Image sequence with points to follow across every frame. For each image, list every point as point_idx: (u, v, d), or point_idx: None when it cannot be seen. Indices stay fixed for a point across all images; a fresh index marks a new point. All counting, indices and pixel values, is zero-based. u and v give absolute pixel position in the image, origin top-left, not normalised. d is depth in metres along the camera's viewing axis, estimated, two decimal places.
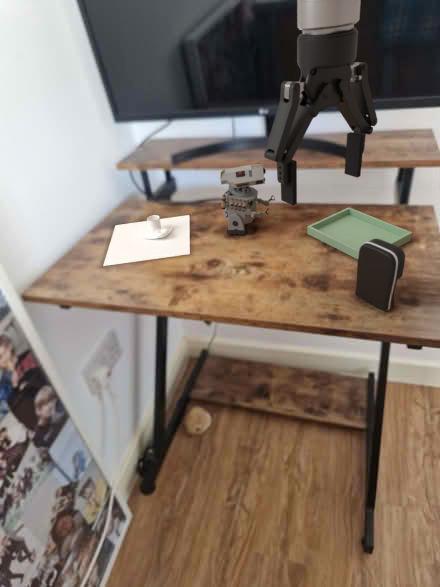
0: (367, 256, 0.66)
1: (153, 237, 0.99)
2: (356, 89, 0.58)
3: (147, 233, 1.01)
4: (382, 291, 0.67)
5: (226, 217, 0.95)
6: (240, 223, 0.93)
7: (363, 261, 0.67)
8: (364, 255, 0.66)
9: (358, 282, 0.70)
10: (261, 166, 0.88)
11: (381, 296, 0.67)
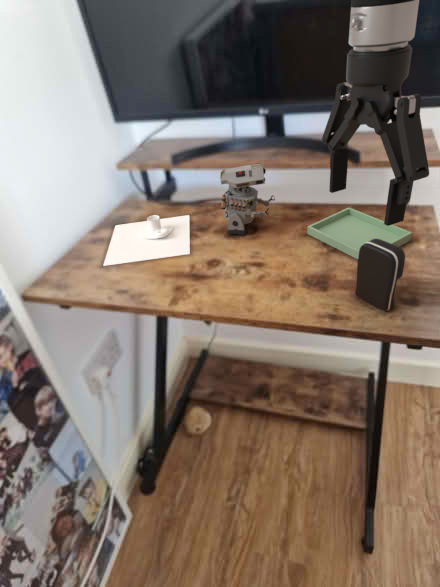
0: (367, 256, 0.66)
1: (153, 237, 0.99)
2: (344, 108, 0.59)
3: (147, 233, 1.01)
4: (382, 291, 0.67)
5: (226, 217, 0.95)
6: (240, 223, 0.93)
7: (363, 261, 0.67)
8: (364, 255, 0.66)
9: (358, 282, 0.70)
10: (261, 166, 0.88)
11: (381, 296, 0.67)
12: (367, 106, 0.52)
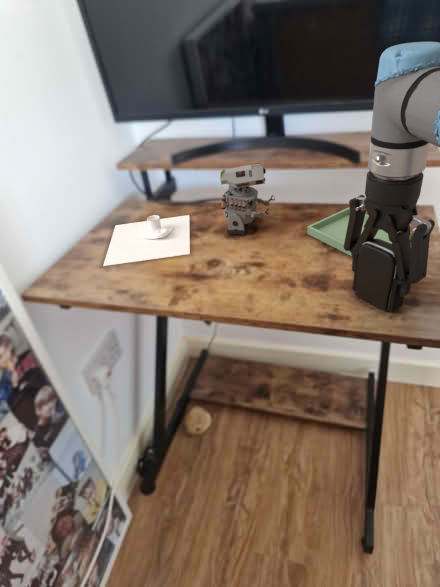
0: (367, 256, 0.66)
1: (153, 237, 0.99)
2: (359, 217, 0.66)
3: (147, 233, 1.01)
4: (382, 291, 0.67)
5: (226, 217, 0.95)
6: (240, 223, 0.93)
7: (363, 261, 0.67)
8: (364, 255, 0.66)
9: (358, 282, 0.70)
10: (261, 166, 0.88)
11: (381, 296, 0.67)
12: (387, 219, 0.59)
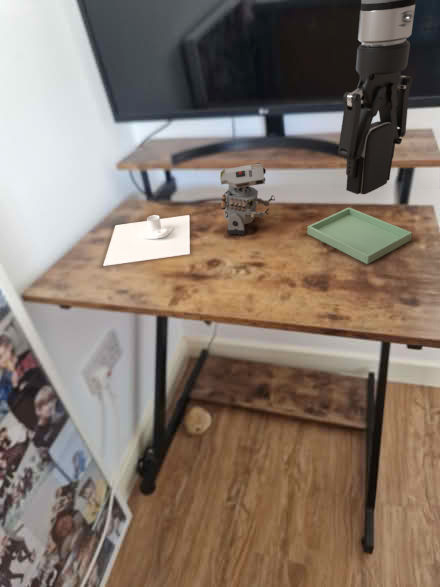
0: (376, 141, 0.68)
1: (153, 237, 0.99)
2: None
3: (147, 233, 1.01)
4: (386, 165, 0.72)
5: (226, 217, 0.95)
6: (240, 223, 0.93)
7: (373, 150, 0.68)
8: (374, 142, 0.68)
9: (368, 177, 0.71)
10: (261, 166, 0.88)
11: (386, 170, 0.73)
12: (394, 87, 0.64)
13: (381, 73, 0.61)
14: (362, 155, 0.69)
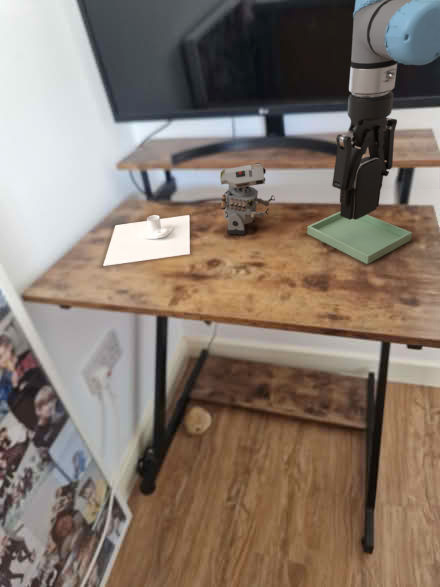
0: (366, 174, 0.77)
1: (153, 237, 0.99)
2: None
3: (147, 233, 1.01)
4: (375, 194, 0.82)
5: (226, 217, 0.95)
6: (240, 223, 0.93)
7: (363, 182, 0.78)
8: (364, 176, 0.77)
9: (359, 205, 0.81)
10: (261, 166, 0.88)
11: (375, 198, 0.83)
12: (380, 129, 0.74)
13: (369, 119, 0.70)
14: (353, 186, 0.79)
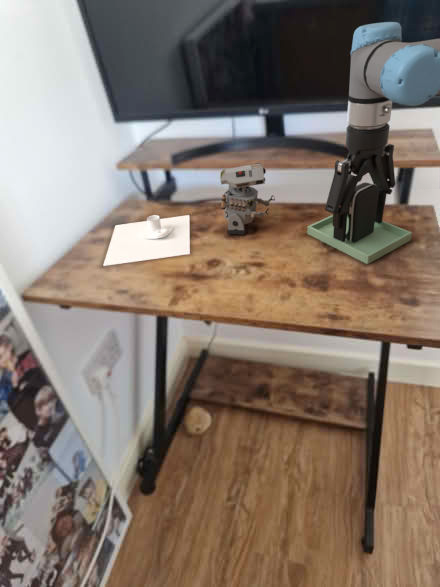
0: (363, 200, 0.81)
1: (153, 237, 0.99)
2: None
3: (147, 233, 1.01)
4: (372, 217, 0.85)
5: (226, 217, 0.95)
6: (240, 223, 0.93)
7: (360, 207, 0.81)
8: (361, 201, 0.81)
9: (357, 228, 0.84)
10: (261, 166, 0.88)
11: (372, 222, 0.86)
12: (377, 158, 0.77)
13: (366, 150, 0.74)
14: (351, 211, 0.82)
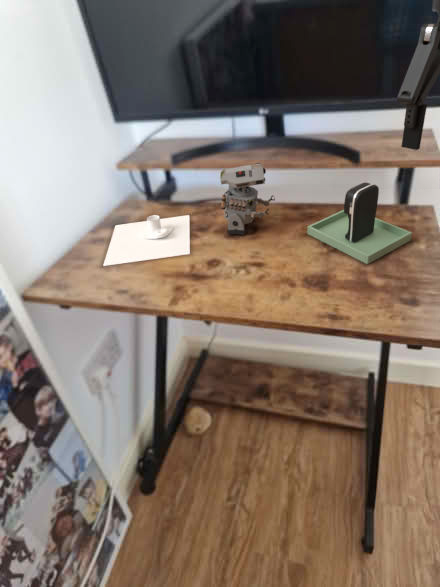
0: (363, 200, 0.81)
1: (153, 237, 0.99)
2: None
3: (147, 233, 1.01)
4: (372, 217, 0.85)
5: (226, 217, 0.95)
6: (240, 223, 0.93)
7: (360, 207, 0.81)
8: (361, 201, 0.81)
9: (357, 228, 0.84)
10: (261, 166, 0.88)
11: (372, 222, 0.86)
12: None
13: None
14: (351, 211, 0.82)
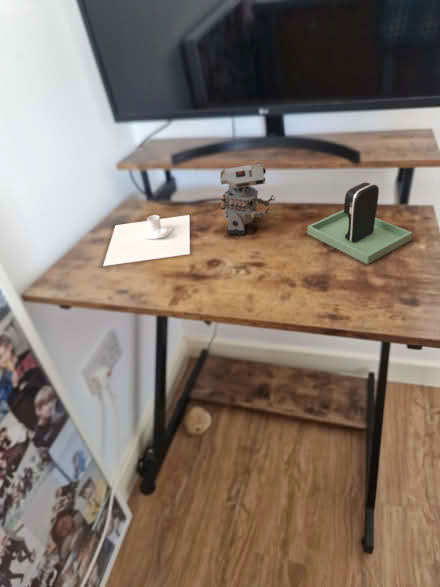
0: (363, 200, 0.81)
1: (153, 237, 0.99)
2: None
3: (147, 233, 1.01)
4: (372, 217, 0.85)
5: (226, 217, 0.95)
6: (240, 223, 0.93)
7: (360, 207, 0.81)
8: (361, 201, 0.81)
9: (357, 228, 0.84)
10: (261, 166, 0.88)
11: (372, 222, 0.86)
12: None
13: None
14: (351, 211, 0.82)
